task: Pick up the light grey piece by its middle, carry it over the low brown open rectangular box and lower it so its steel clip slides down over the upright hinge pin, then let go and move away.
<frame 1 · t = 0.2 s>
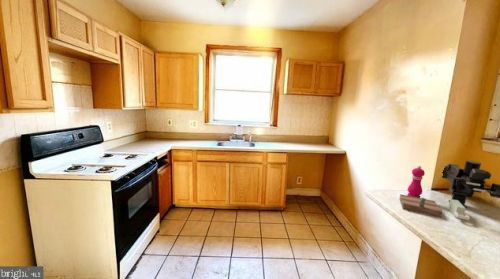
hand: (484, 193, 99), 16 cm above the worktop, tool horizontal, fingers open, 9 cm apart
pepper mill: (413, 197, 132), on the worktop
light grey piece: (455, 214, 113), on the worktop
brown open rectangular box: (418, 207, 119), on the worktop
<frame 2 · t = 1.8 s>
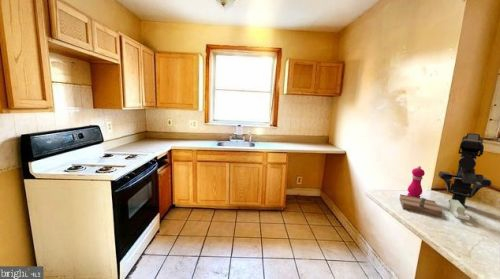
hand: (459, 194, 111), 11 cm above the worktop, tool pointing down, fingers open, 9 cm apart
nothing on the worktop moved.
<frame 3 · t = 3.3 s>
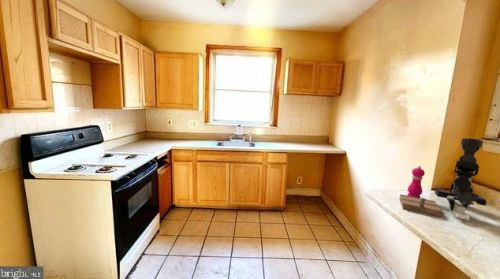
hand: (455, 211, 113), 1 cm above the worktop, tool pointing down, fingers closed on light grey piece, 3 cm apart
light grey piece: (455, 213, 113), on the worktop, touching gripper
everything else where it was.
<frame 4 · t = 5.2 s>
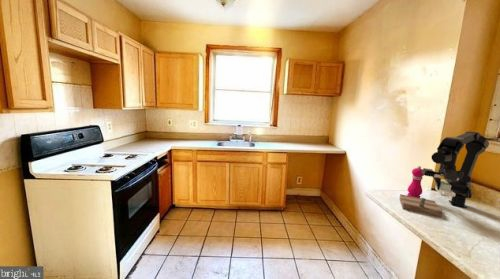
hand: (442, 190, 114), 11 cm above the worktop, tool pointing down, fingers closed on light grey piece, 3 cm apart
light grey piece: (441, 192, 114), point 10 cm above the worktop, touching gripper
everything else where it was.
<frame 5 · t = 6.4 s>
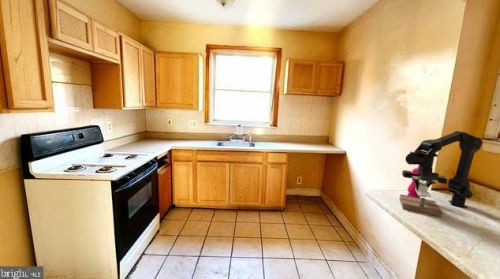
hand: (420, 191, 119), 9 cm above the worktop, tool pointing down, fingers closed on light grey piece, 3 cm apart
light grey piece: (420, 193, 119), point 7 cm above the worktop, touching gripper
everything else where it was.
when the fingers open (5 cm above the worktop, at t = 7.4 s): light grey piece stays where it is, resting on brown open rectangular box.
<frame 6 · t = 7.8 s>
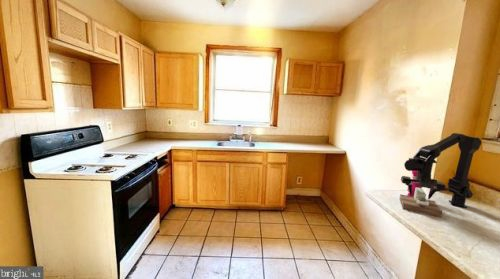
hand: (419, 197, 120), 5 cm above the worktop, tool pointing down, fingers open, 8 cm apart
light grey piece: (418, 201, 120), point 3 cm above the worktop, touching brown open rectangular box
everything else where it was.
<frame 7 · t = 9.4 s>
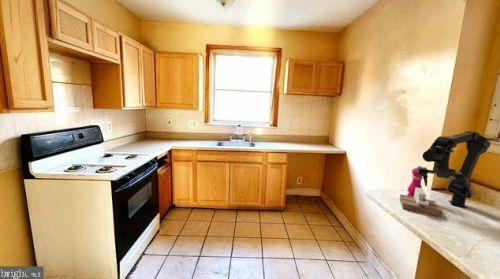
hand: (436, 188, 117), 12 cm above the worktop, tool pointing down, fingers open, 9 cm apart
nothing on the worktop moved.
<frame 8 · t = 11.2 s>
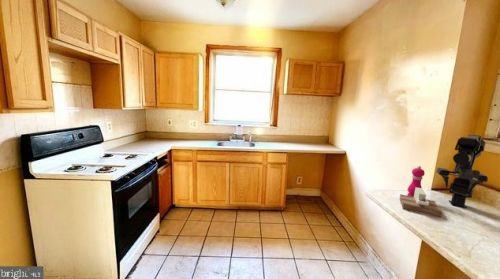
hand: (457, 189, 115), 12 cm above the worktop, tool pointing down, fingers open, 9 cm apart
nothing on the worktop moved.
at the end: light grey piece 0.1 cm from the target spot on the brown open rectangular box, point 3.0 cm above the brown open rectangular box's base; light grey piece tilted 0°; the gripper is holding nothing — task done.
